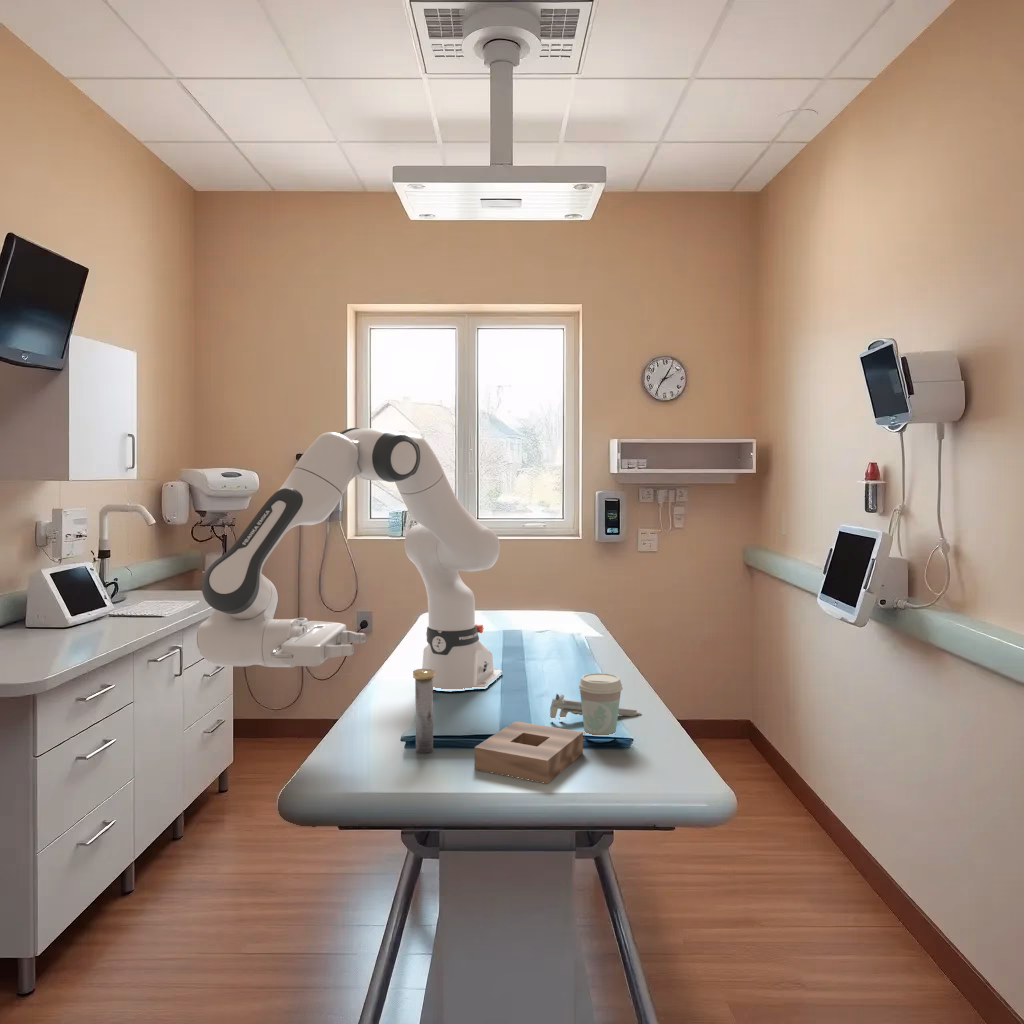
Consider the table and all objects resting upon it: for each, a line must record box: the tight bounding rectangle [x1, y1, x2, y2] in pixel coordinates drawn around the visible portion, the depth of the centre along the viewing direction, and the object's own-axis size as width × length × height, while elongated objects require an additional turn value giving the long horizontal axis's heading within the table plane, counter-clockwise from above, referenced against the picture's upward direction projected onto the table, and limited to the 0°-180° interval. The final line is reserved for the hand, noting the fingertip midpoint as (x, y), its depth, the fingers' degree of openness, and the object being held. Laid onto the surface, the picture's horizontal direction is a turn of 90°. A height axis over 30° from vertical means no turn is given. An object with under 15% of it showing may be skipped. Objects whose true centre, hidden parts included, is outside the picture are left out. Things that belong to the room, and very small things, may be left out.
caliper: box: [549, 693, 643, 719], centre depth 171 cm, size 20×1×6 cm, turn 107°
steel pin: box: [412, 668, 435, 754], centre depth 152 cm, size 4×4×15 cm
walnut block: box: [473, 720, 584, 784], centre depth 147 cm, size 16×14×4 cm
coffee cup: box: [577, 672, 624, 735], centre depth 159 cm, size 8×8×12 cm
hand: (359, 644), depth 152 cm, fingers open, 8 cm apart
